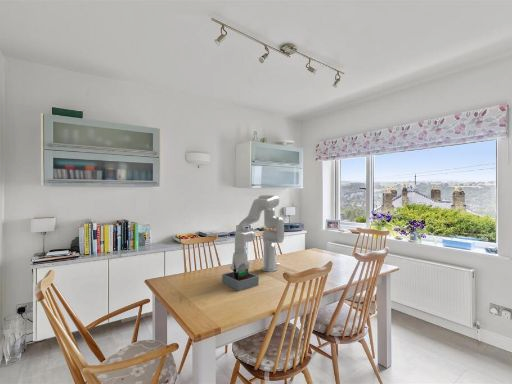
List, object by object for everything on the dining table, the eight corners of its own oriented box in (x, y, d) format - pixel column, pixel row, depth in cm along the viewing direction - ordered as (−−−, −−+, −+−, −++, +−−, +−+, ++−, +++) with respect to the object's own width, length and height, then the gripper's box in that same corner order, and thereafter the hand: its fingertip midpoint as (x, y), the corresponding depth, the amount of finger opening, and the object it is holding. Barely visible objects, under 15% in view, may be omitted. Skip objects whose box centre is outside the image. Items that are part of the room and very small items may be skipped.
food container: (228, 279, 184) (229, 264, 184) (234, 276, 190) (234, 262, 189) (244, 282, 178) (244, 267, 178) (249, 280, 184) (249, 265, 183)
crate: (241, 278, 197) (241, 269, 197) (258, 285, 183) (258, 276, 183) (222, 283, 186) (222, 274, 186) (238, 291, 172) (238, 281, 172)
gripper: (246, 247, 193) (246, 273, 193) (226, 251, 181) (226, 278, 182) (253, 249, 187) (253, 275, 187) (233, 253, 176) (233, 281, 176)
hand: (240, 276), depth 184 cm, fingers closed on food container, 6 cm apart
